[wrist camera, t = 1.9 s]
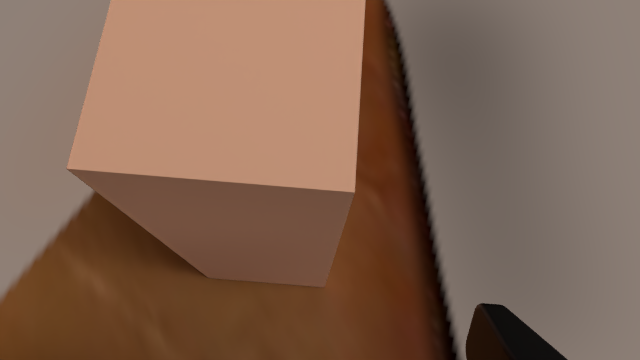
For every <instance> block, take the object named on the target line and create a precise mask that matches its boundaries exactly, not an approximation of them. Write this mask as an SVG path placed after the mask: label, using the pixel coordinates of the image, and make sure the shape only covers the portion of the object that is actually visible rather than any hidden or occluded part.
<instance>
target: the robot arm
mask: <svg viewBox="0 0 640 360" xmlns="http://www.w3.org/2000/svg"><path fill="white" fill-rule="evenodd" d="M466 358H467V360H567V359H566V358H565V357H564V356H563V355H561V354H560V353H559V352H558V351H557V350H556V349H555V348H553V347H552V346H551V345H550V344H549V343H547V342H546V341H545V340H544V339H542V338H541V337H540V336H539V335H538V334H537V333H536V332H534V331H533V330H532V329H531V328H530V327H529V326H527V325H526V324H525V323H524V322H523V321H521V320H520V319H519V318H518V317H517V316H516V315H514V314H513V313H512V312H511V311H510V310H509V309H507V308H506V307H505V306H503V305H497V304H485V303H481V304H479V305H477V307H476V308H475V311H474V315H473V318H472V322H471V325H470V329H469V333H468V336H467V340H466Z"/></svg>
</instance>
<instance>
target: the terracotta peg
mask: <svg viewBox="0 0 640 360" xmlns="http://www.w3.org/2000/svg"><path fill="white" fill-rule="evenodd" d="M364 15H365V0H111V3H110V7H109V11H108V14H107V18H106V22H105V25H104V29H103V33H102V37H101V40H100V44H99V48H98V52H97V55H96V60H95V63H94V67H93V70H92V74H91V78H90V82H89V86H88V89H87V93H86V97H85V101H84V104H83V108H82V112H81V116H80V119H79V123H78V127H77V131H76V135H75V138H74V142H73V146H72V149H71V153H70V157H69V161H68V165H67V169H68V170H69V171H70V172H72V173H73V174H74V175H75V176H77V177H78V178H79V179H81V180H82V181H83V182H84V183H86V184H87V185H88V186H90V187H91V188H92V189H93V190H95V191H96V192H97V193H99V194H100V195H101V196H103V197H104V198H105V199H106V200H108V201H109V202H110V203H112V204H113V205H114V206H116V207H117V208H118V209H119V210H121V211H122V212H123V213H125V214H126V215H127V216H129V217H130V218H131V219H132V220H134V221H135V222H136V223H138V224H139V225H140V226H142V227H143V228H144V229H145V230H147V231H148V232H149V233H151V234H152V235H153V236H155V237H156V238H157V239H158V240H160V241H161V242H162V243H164V244H165V245H166V246H168V247H169V248H170V249H171V250H173V251H174V252H175V253H177V254H178V255H179V256H181V257H182V258H183V259H184V260H186V261H187V262H188V263H190V264H191V265H192V266H194V267H195V268H196V269H197V270H199V271H200V272H201V273H203V274H204V275H205V276H207V277H208V278H215V279H227V280H240V281H252V282H264V283H276V284H289V285H301V286H313V287H325V284H326V281H327V278H328V275H329V271H330V268H331V265H332V262H333V259H334V256H335V253H336V249H337V246H338V243H339V240H340V237H341V234H342V231H343V227H344V224H345V221H346V218H347V215H348V212H349V208H350V205H351V202H352V199H353V196H354V193H355V177H356V159H357V141H358V123H359V105H360V87H361V69H362V51H363V33H364Z"/></svg>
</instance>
